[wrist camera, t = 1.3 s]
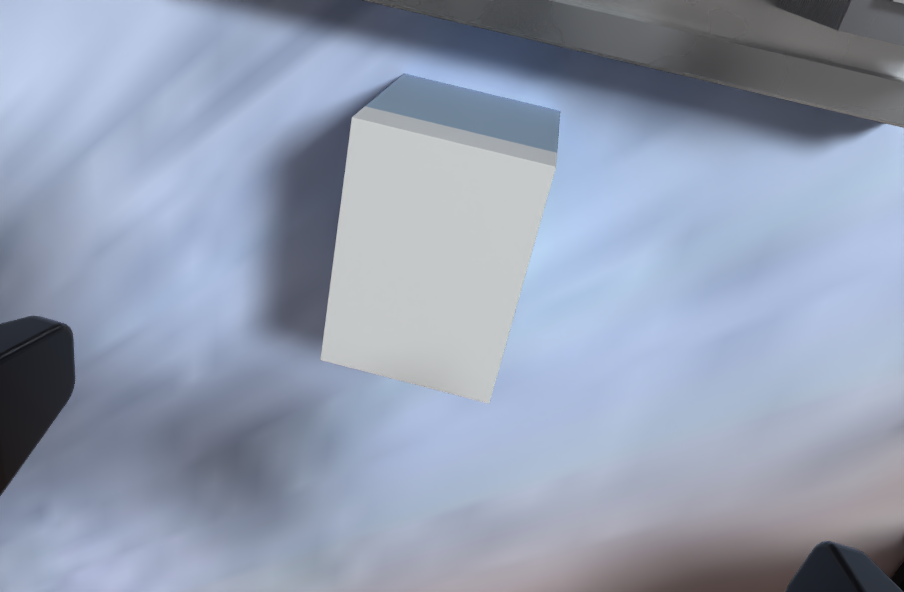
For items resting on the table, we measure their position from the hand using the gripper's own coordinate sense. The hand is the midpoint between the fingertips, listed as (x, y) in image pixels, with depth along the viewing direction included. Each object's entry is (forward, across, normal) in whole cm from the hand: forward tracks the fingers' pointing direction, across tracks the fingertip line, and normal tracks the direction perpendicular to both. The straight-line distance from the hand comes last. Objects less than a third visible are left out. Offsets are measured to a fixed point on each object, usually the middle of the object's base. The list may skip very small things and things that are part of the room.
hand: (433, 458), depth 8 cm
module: (+12, +1, +2) cm, 13 cm away
